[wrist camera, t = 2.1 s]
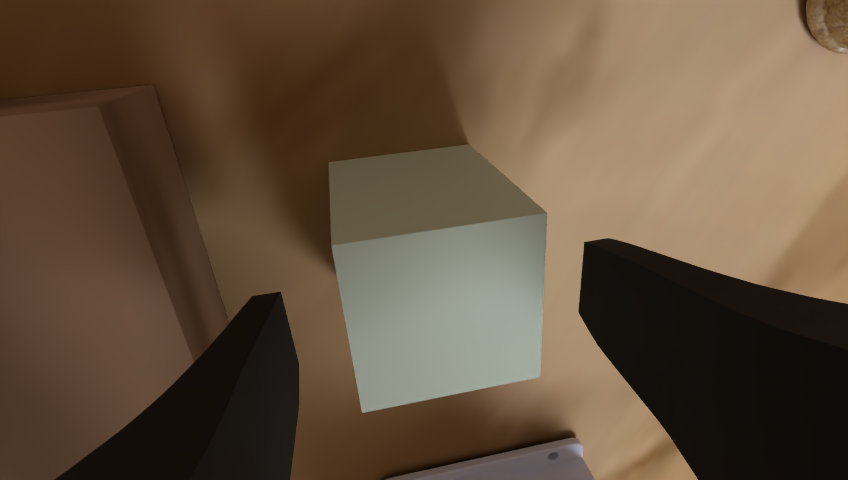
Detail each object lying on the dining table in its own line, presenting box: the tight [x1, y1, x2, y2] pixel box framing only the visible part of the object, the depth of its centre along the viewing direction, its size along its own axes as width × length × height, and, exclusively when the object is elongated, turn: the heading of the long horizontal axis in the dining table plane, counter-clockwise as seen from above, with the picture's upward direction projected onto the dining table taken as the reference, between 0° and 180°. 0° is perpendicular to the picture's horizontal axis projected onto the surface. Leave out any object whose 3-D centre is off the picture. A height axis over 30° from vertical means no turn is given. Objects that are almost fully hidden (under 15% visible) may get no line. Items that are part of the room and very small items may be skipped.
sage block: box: [329, 144, 547, 413], centre depth 13 cm, size 4×4×6 cm
